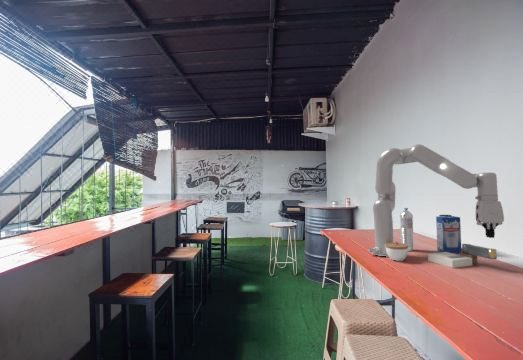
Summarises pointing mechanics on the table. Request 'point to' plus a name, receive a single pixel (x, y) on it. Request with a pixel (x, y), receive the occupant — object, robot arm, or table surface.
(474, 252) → the latch bar
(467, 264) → the door panel
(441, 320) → the table surface
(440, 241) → the milk carton
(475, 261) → the jamb block
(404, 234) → the water bottle
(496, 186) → the robot arm
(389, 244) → the lidded jar
